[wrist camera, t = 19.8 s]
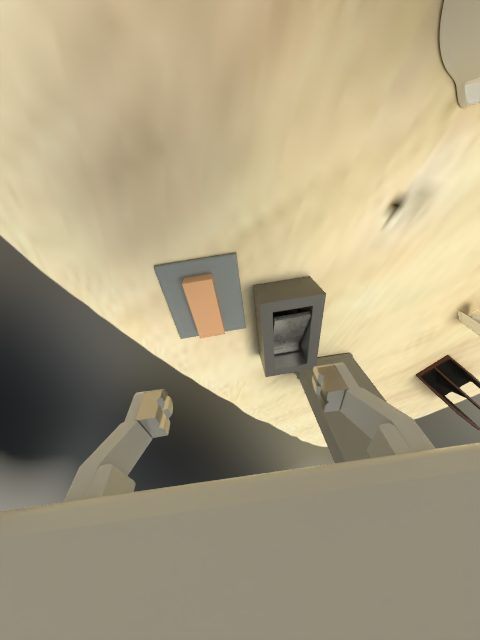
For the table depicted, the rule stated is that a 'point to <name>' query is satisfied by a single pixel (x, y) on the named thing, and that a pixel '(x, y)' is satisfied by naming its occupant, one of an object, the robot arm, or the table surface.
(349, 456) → the grey flat-topped box
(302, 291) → the pocket block
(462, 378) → the letter holder
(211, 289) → the tile
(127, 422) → the robot arm
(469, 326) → the headset
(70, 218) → the table surface
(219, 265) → the mat
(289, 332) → the plate
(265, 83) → the table surface
